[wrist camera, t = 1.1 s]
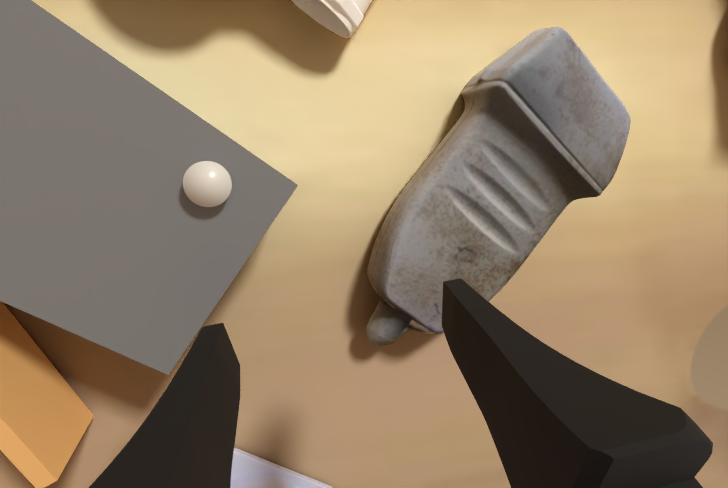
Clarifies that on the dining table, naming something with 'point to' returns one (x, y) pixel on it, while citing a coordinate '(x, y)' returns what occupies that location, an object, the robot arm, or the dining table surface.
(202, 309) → the grey box with knob
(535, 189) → the handheld device
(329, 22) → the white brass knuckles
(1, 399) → the side door
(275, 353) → the dining table surface
